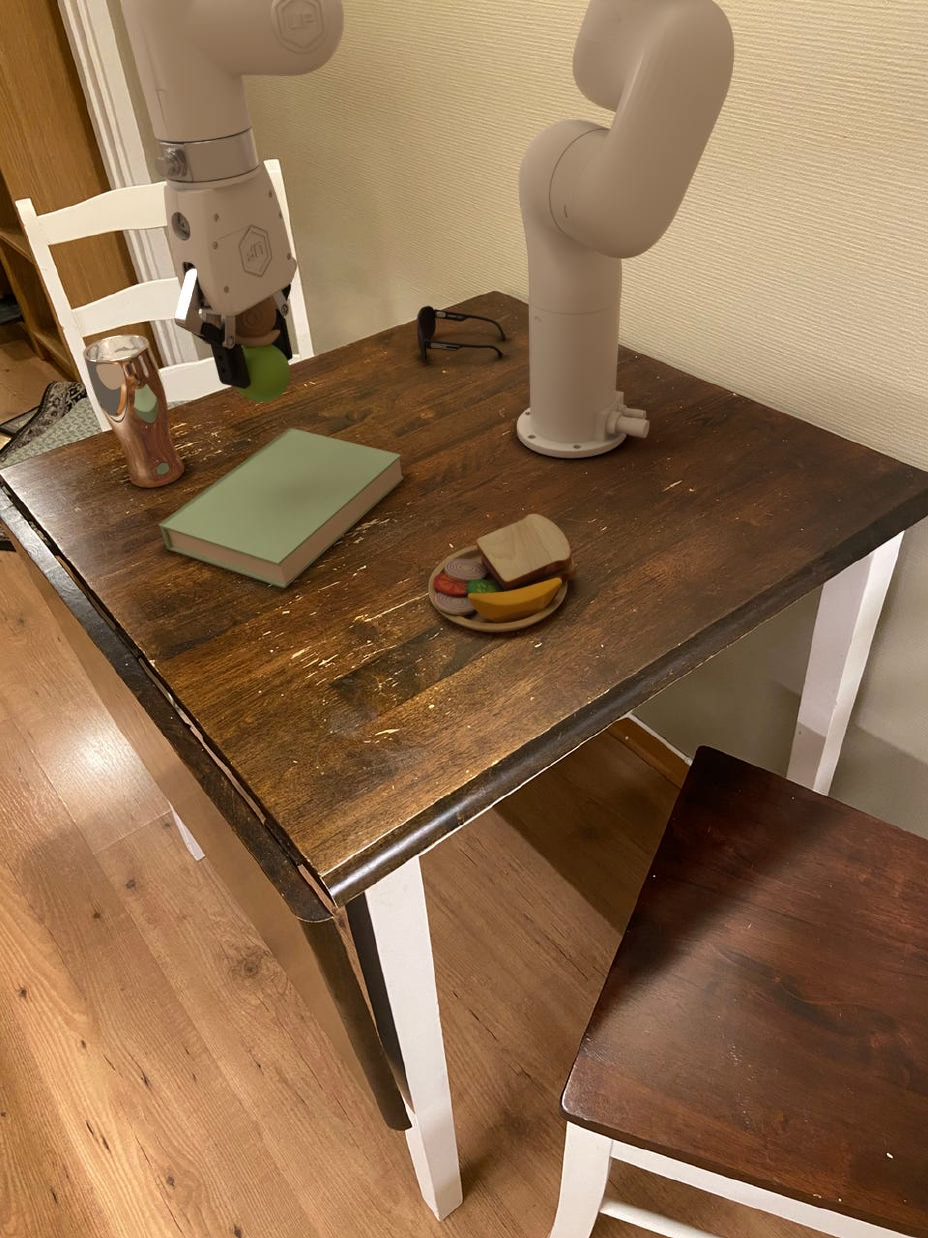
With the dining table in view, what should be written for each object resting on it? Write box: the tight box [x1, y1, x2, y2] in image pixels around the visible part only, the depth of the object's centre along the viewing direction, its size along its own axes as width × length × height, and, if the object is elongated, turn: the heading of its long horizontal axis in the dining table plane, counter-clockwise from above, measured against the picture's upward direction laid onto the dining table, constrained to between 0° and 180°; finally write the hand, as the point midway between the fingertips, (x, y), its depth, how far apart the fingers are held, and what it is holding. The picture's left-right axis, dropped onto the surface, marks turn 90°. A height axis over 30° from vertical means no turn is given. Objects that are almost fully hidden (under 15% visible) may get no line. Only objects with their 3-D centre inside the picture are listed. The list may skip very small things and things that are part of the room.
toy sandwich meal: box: [427, 513, 577, 633], centre depth 78 cm, size 12×14×5 cm
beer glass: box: [82, 333, 185, 489], centre depth 95 cm, size 7×7×15 cm
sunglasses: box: [416, 305, 506, 361], centre depth 119 cm, size 10×12×5 cm
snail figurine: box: [216, 298, 292, 403], centre depth 80 cm, size 5×6×12 cm
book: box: [158, 427, 405, 589], centre depth 91 cm, size 15×21×3 cm
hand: (257, 369), depth 82 cm, fingers closed on snail figurine, 5 cm apart
